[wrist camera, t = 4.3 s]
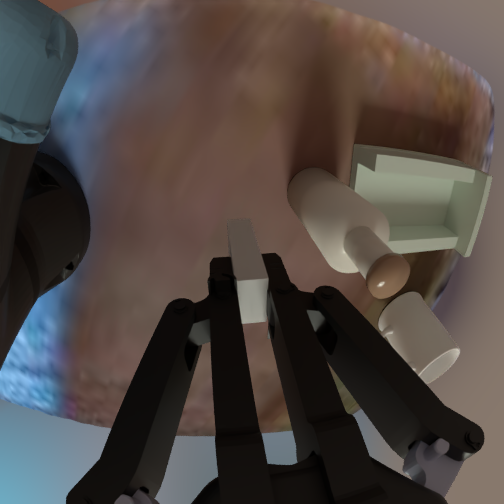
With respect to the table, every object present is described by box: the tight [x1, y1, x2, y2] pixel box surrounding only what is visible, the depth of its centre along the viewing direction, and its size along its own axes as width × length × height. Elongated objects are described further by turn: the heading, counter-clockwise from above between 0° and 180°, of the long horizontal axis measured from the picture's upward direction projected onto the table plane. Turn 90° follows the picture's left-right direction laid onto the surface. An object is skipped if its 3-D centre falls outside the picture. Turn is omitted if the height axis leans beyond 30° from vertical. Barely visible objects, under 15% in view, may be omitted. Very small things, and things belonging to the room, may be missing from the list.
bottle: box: [287, 167, 410, 299], centre depth 20 cm, size 5×5×14 cm
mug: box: [378, 292, 460, 384], centre depth 33 cm, size 12×8×12 cm
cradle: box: [349, 144, 492, 257], centre depth 25 cm, size 16×10×6 cm, turn 90°
